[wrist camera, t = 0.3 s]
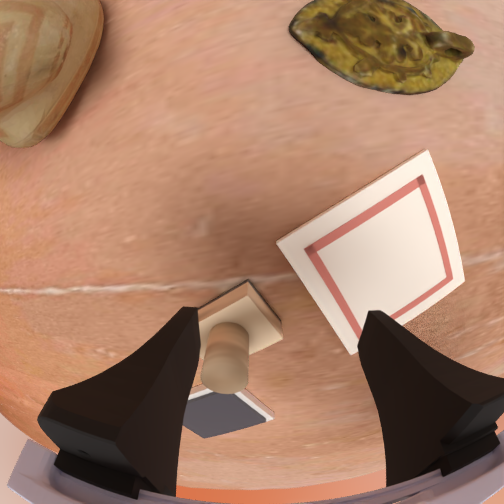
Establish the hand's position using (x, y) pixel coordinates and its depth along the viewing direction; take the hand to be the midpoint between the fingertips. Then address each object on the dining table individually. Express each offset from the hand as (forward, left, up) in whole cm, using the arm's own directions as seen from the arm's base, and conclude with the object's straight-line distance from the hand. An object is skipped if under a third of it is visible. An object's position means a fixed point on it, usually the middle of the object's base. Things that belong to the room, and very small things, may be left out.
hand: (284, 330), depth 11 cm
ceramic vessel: (+25, +6, -10) cm, 28 cm away
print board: (-7, -7, -10) cm, 14 cm away
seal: (+9, -16, -11) cm, 21 cm away
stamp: (-4, +7, -10) cm, 13 cm away
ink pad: (-14, +17, -10) cm, 24 cm away
